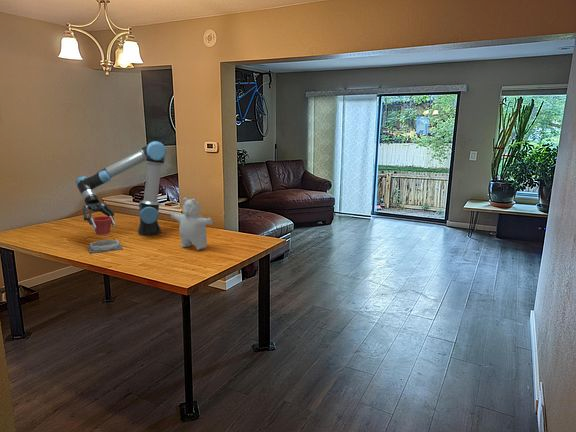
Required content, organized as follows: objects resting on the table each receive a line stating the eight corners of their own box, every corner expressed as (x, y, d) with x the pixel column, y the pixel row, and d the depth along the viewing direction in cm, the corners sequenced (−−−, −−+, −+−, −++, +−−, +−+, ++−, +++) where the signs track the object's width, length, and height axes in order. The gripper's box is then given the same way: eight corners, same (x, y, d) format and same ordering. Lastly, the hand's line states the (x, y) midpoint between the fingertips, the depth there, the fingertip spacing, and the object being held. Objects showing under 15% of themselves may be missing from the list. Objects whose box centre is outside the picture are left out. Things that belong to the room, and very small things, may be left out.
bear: (163, 246, 251) (161, 196, 245) (180, 241, 263) (178, 193, 257) (205, 255, 234) (204, 202, 227) (221, 249, 246) (220, 198, 240)
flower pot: (116, 233, 246) (115, 217, 244) (100, 236, 236) (99, 220, 234) (105, 230, 251) (104, 215, 249) (89, 233, 242) (88, 218, 240)
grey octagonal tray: (118, 242, 258) (118, 238, 257) (123, 249, 243) (122, 245, 242) (87, 245, 249) (87, 241, 248) (90, 253, 234) (89, 249, 233)
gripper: (107, 199, 258) (121, 227, 252) (69, 204, 241) (83, 233, 234) (110, 192, 254) (124, 220, 248) (72, 196, 236) (87, 226, 230)
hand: (104, 226), depth 241 cm, fingers closed on flower pot, 11 cm apart
